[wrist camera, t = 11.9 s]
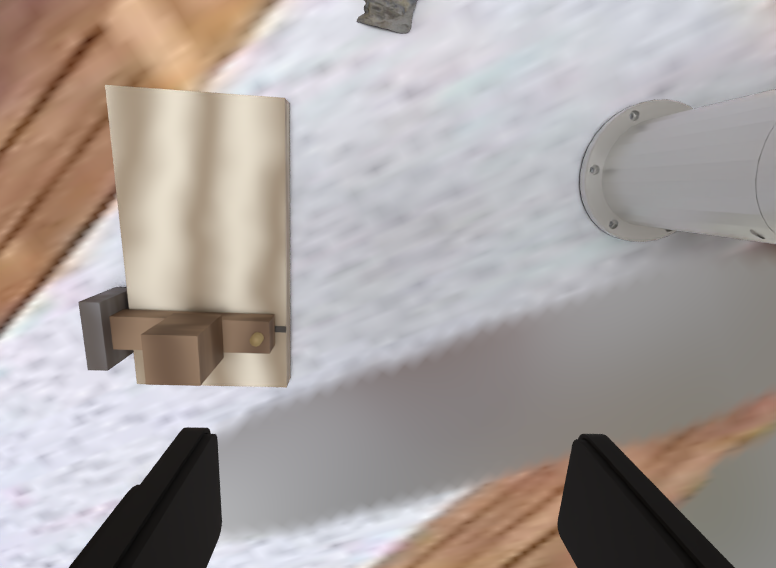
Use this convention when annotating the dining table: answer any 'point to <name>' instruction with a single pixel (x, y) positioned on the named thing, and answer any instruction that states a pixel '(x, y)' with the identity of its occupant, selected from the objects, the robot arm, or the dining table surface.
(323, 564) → the dining table surface
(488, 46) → the dining table surface
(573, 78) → the dining table surface
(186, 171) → the board
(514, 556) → the dining table surface
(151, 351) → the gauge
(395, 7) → the driftwood
